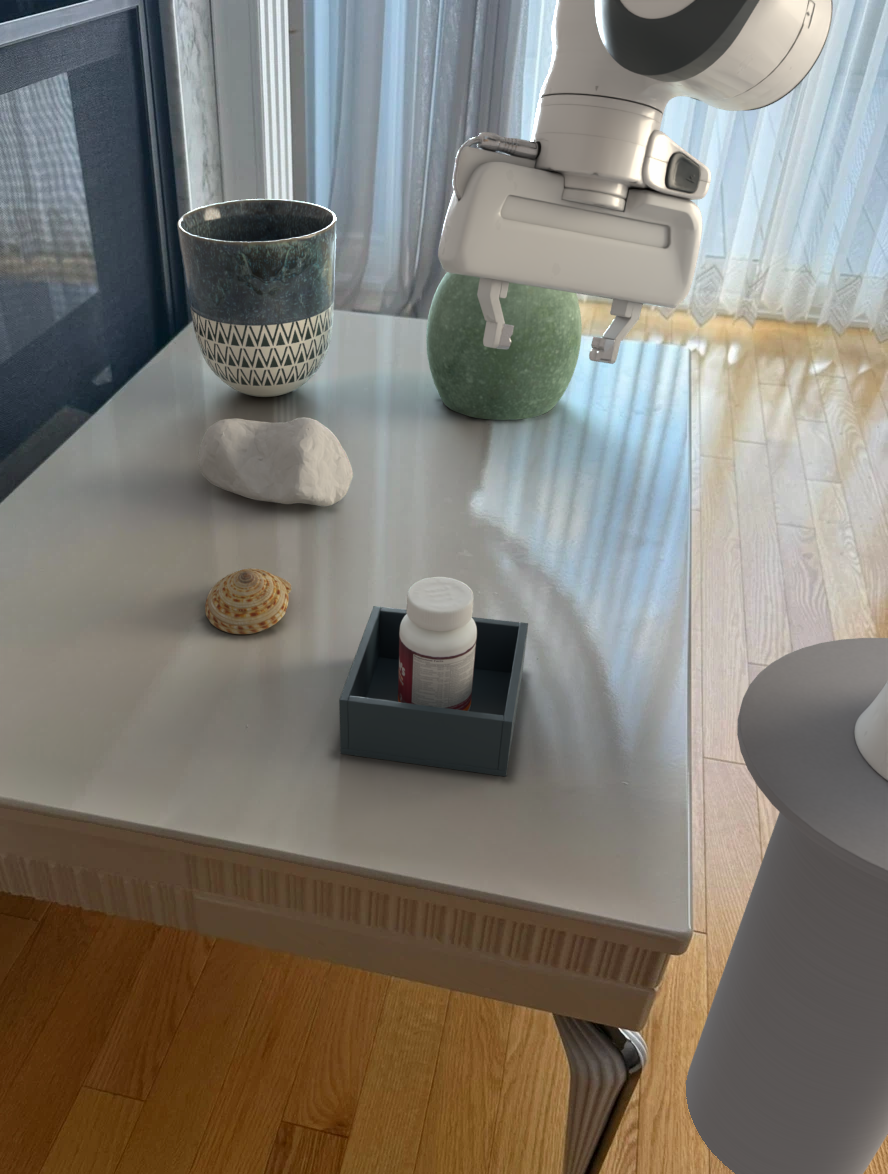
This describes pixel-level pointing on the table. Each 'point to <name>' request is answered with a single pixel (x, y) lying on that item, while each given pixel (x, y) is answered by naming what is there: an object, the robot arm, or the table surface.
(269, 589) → the seashell
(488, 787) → the table surface
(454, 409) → the sculpture
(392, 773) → the table surface
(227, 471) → the decorative stone
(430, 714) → the bin
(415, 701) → the pill bottle
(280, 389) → the planter
